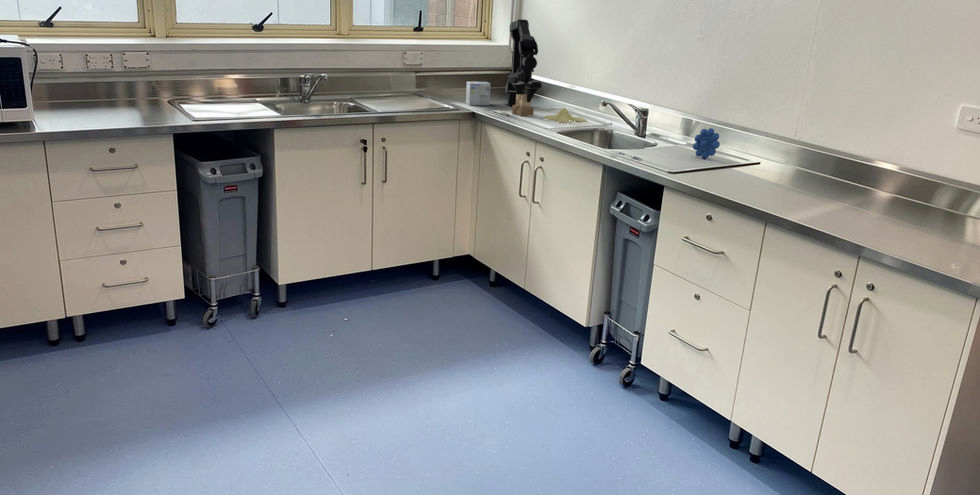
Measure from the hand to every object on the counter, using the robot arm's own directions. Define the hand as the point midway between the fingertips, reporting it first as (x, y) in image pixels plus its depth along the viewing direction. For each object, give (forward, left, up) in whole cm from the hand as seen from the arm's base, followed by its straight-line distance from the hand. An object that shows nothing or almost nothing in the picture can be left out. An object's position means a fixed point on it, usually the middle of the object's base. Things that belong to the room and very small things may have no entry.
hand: (523, 101), depth 380 cm
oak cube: (0, 0, -2) cm, 2 cm away
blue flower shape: (+98, +17, -6) cm, 100 cm away
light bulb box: (-30, -6, -7) cm, 31 cm away
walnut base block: (0, 0, -6) cm, 6 cm away
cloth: (+15, +12, -7) cm, 20 cm away
